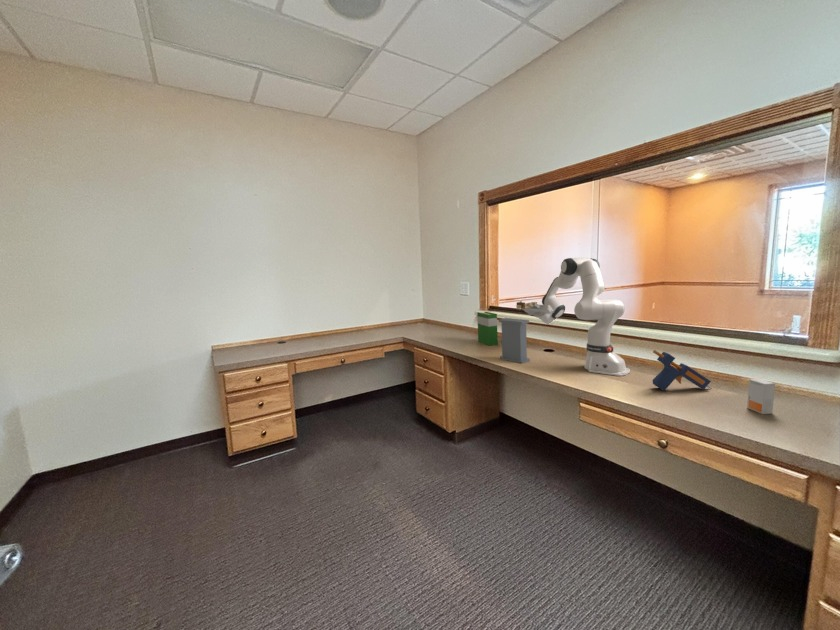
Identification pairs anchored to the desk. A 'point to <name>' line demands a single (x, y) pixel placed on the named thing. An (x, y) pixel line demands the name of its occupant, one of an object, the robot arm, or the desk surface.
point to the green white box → (487, 328)
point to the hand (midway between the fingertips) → (531, 303)
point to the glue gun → (677, 373)
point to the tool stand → (514, 340)
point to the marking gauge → (524, 305)
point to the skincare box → (761, 396)
